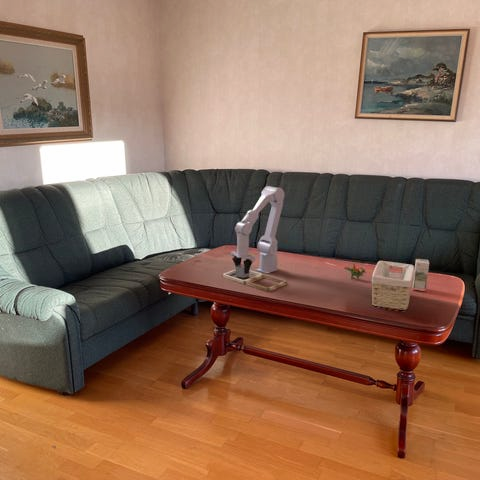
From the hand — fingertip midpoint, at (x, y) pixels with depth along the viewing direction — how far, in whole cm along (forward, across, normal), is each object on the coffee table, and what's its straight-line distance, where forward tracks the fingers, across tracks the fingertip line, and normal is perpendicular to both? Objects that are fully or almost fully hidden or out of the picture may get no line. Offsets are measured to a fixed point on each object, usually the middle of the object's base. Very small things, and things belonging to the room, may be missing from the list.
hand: (242, 272), depth 230 cm
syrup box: (+3, +72, +44) cm, 85 cm away
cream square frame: (+2, 0, 0) cm, 3 cm away
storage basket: (+3, +68, +22) cm, 72 cm away
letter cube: (+2, 0, 0) cm, 2 cm away
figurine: (+3, +42, +36) cm, 56 cm away
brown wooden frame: (+3, +15, 0) cm, 15 cm away
